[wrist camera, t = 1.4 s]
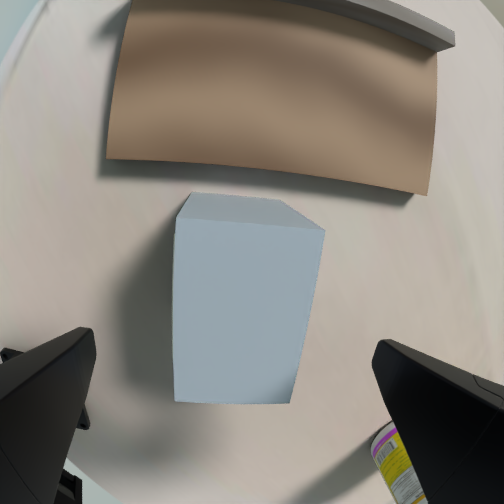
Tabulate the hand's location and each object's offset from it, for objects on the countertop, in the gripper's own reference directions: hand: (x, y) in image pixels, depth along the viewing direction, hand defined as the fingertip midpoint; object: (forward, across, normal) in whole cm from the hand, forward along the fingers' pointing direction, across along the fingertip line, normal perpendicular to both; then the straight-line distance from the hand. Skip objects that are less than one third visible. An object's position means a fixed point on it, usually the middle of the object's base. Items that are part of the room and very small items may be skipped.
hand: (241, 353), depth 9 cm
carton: (+8, 0, 0) cm, 8 cm away
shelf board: (+8, -2, -10) cm, 13 cm away
